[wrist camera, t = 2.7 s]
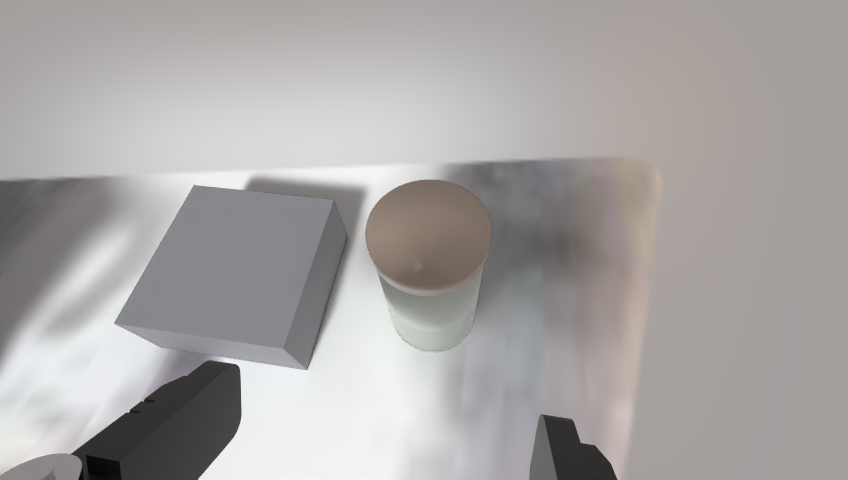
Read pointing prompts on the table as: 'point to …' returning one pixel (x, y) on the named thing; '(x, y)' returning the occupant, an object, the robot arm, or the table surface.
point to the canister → (430, 260)
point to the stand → (240, 277)
